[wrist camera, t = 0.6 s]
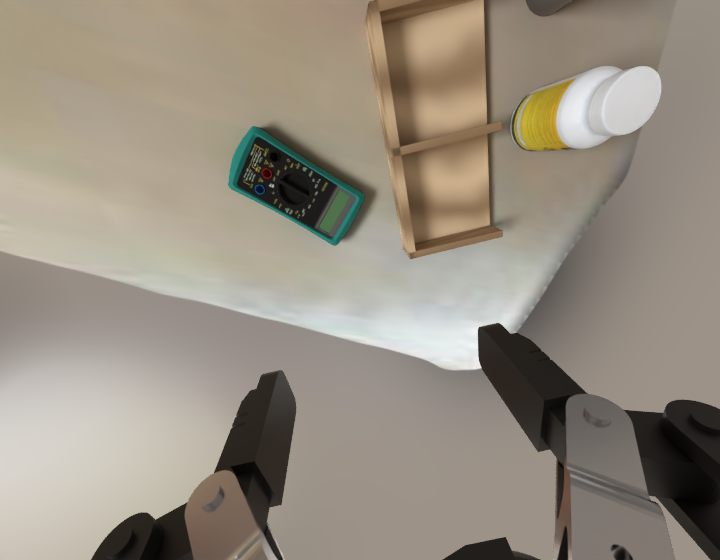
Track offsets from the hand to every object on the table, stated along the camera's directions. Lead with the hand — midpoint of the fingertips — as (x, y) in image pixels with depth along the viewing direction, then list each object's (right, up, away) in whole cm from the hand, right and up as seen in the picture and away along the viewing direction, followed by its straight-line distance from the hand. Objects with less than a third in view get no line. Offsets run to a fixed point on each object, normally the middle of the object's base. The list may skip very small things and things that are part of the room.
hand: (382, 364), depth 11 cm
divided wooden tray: (+8, +20, +21) cm, 30 cm away
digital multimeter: (-8, +15, +23) cm, 28 cm away
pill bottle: (+20, +22, +21) cm, 36 cm away
